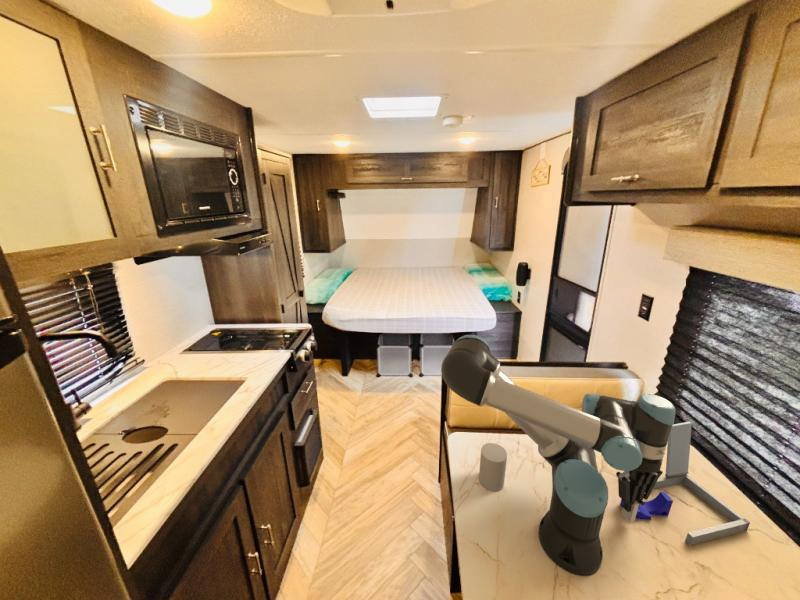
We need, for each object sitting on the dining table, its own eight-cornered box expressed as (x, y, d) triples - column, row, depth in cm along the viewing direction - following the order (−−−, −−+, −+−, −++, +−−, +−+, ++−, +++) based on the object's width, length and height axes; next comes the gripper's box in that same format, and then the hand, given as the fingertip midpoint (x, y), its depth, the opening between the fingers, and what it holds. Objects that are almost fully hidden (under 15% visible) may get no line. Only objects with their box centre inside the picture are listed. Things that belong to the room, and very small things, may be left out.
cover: (672, 426, 97) (665, 423, 99) (668, 478, 100) (662, 474, 101) (692, 423, 99) (685, 420, 101) (688, 474, 101) (681, 470, 103)
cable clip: (629, 519, 90) (633, 503, 89) (619, 505, 95) (623, 490, 93) (672, 521, 90) (677, 505, 88) (660, 506, 94) (665, 491, 92)
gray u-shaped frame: (689, 545, 83) (692, 537, 82) (631, 490, 99) (633, 482, 99) (746, 530, 87) (750, 522, 86) (681, 479, 103) (684, 472, 102)
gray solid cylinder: (494, 468, 108) (497, 440, 105) (509, 487, 101) (512, 458, 97) (474, 474, 106) (476, 446, 102) (487, 494, 98) (490, 464, 95)
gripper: (637, 465, 77) (620, 535, 84) (679, 457, 79) (659, 525, 86) (612, 444, 84) (598, 509, 91) (651, 437, 86) (635, 501, 93)
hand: (628, 517), depth 88 cm, fingers closed
